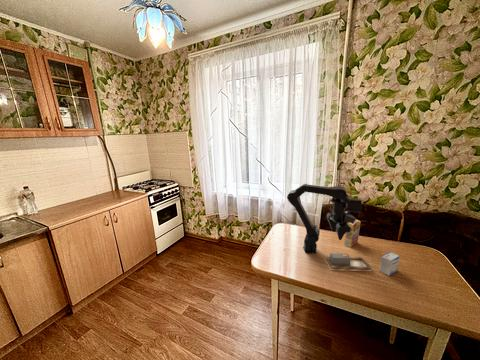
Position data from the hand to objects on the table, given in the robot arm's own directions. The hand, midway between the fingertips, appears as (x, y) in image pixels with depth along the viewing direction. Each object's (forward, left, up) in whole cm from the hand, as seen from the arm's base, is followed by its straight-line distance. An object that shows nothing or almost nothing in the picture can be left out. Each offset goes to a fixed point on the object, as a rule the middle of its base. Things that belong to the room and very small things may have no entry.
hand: (336, 235), depth 111 cm
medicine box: (+22, -12, -13) cm, 28 cm away
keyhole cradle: (+3, -8, -13) cm, 16 cm away
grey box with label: (-1, -8, -12) cm, 15 cm away
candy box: (+15, +13, -13) cm, 24 cm away
